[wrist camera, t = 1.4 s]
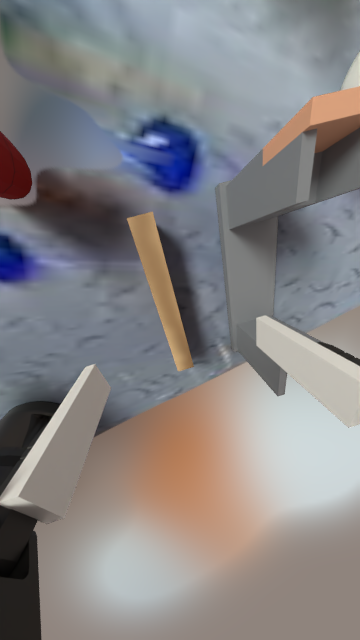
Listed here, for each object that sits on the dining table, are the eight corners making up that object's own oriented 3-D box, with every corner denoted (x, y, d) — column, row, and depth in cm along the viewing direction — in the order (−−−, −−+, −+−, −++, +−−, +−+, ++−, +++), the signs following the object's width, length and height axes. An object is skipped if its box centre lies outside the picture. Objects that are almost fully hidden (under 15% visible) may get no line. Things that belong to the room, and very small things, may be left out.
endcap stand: (231, 348, 33) (274, 401, 21) (215, 188, 21) (300, 87, 8) (267, 337, 34) (330, 383, 21) (272, 173, 21) (434, 56, 9)
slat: (174, 351, 32) (178, 371, 26) (134, 228, 21) (126, 218, 16) (187, 347, 32) (193, 366, 26) (153, 223, 21) (152, 211, 16)
